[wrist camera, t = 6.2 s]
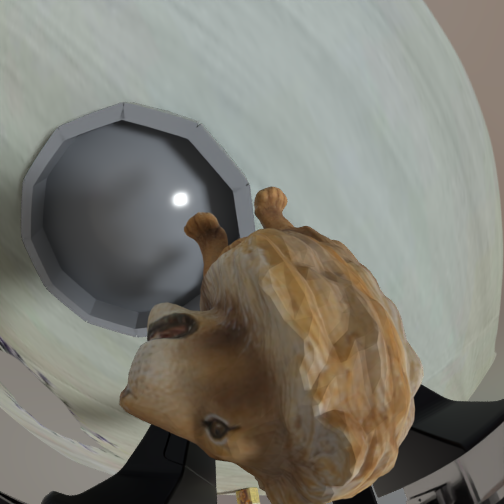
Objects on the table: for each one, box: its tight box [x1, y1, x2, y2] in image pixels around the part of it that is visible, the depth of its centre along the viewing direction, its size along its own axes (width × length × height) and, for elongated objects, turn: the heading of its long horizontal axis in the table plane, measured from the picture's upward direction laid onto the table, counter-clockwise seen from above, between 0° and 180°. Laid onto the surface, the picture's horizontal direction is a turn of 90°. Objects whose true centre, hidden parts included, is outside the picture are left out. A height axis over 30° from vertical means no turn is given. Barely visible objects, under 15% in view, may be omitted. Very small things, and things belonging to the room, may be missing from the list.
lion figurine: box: [120, 187, 424, 504], centre depth 10 cm, size 15×5×9 cm, turn 9°
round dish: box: [21, 102, 255, 337], centre depth 17 cm, size 17×17×3 cm
